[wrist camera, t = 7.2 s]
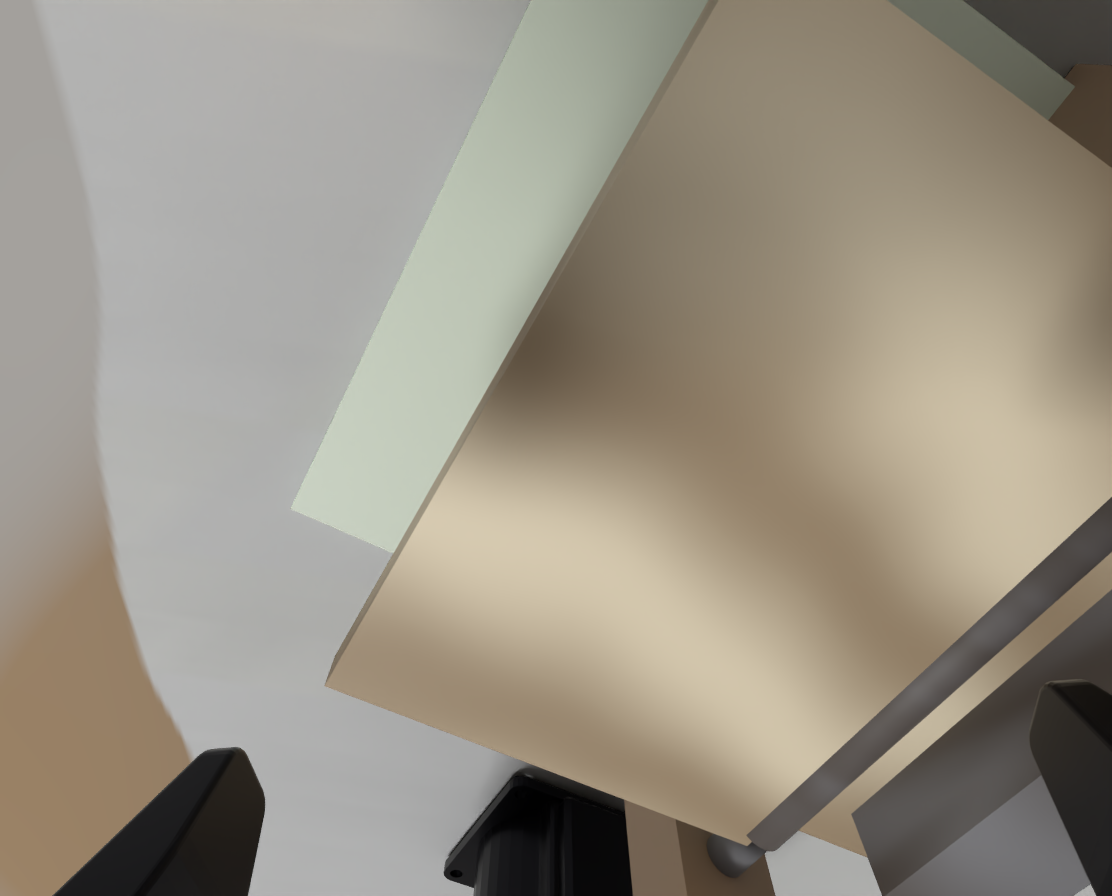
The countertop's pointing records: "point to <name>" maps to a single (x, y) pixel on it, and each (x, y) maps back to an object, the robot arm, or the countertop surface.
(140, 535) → the countertop surface
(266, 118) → the countertop surface
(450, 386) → the stand
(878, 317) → the trapdoor
